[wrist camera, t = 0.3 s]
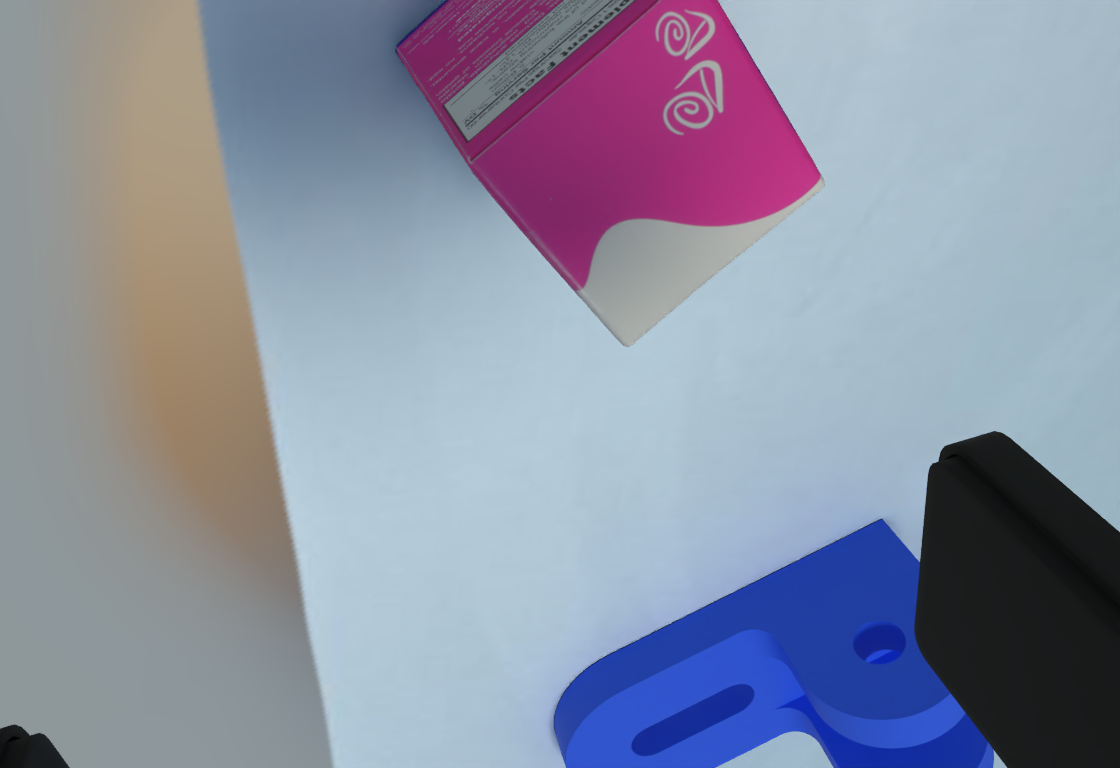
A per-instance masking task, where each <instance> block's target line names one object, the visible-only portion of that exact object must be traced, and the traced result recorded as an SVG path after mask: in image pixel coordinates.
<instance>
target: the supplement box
mask: <svg viewBox="0 0 1120 768" xmlns="http://www.w3.org/2000/svg"><path fill="white" fill-rule="evenodd" d="M395 52H396V53H397V55H398V57H399V58H400V60H401V62H402V63H403V64H404V66H405V67H406V68H407V70H408V72H409V73H410V75H411V77H412V78H413V80H414V82H415V83H416V85H417V86H418V87H419V89H420V90H421V92H422V93H423V95H424V96H425V98H426V100H427V101H428V103H429V104H430V106H431V107H432V109H433V111H434V112H435V114H436V116H437V117H438V119H439V120H440V122H441V123H442V125H443V127H444V128H445V130H446V132H447V133H448V135H449V136H450V138H451V140H452V141H453V143H454V144H455V146H456V147H457V149H458V150H459V152H460V154H461V155H462V157H463V158H464V160H465V161H466V163H467V164H468V166H469V167H470V169H471V170H472V172H473V174H474V175H475V176H476V177H477V178H478V180H479V181H480V182H481V183H482V185H483V186H484V187H485V188H486V190H487V191H488V192H489V193H490V195H491V196H492V197H493V198H494V199H495V201H496V202H497V203H498V204H499V205H500V206H501V208H502V209H503V210H504V211H505V212H506V213H507V215H508V216H509V217H510V218H511V219H512V220H513V222H514V223H515V224H516V225H517V226H518V227H519V229H520V230H521V231H522V232H523V233H524V234H525V236H526V237H527V238H528V239H529V240H530V241H531V243H532V244H533V245H534V246H535V247H536V248H537V249H538V251H539V252H540V253H541V254H542V255H543V256H544V257H545V259H546V260H547V261H548V262H549V263H550V264H551V265H552V267H553V268H554V269H555V270H556V271H557V272H558V273H559V274H560V276H561V277H562V278H563V279H564V280H565V281H566V282H567V283H568V285H569V286H570V287H571V288H572V289H573V290H574V291H575V292H576V294H577V295H578V296H579V297H580V298H581V299H582V300H583V301H584V303H585V304H586V305H587V306H588V307H589V308H590V309H591V311H592V312H593V313H594V314H595V315H596V316H597V317H598V318H599V319H600V321H601V322H602V323H603V324H604V325H605V326H606V328H607V329H608V330H609V331H610V332H611V333H612V334H613V335H614V336H615V338H616V339H617V340H618V341H619V342H620V343H621V344H622V345H623V346H626V347H629V346H631V345H632V344H634V343H635V342H636V341H637V340H638V339H639V338H641V337H642V336H643V335H644V334H645V333H647V332H648V331H649V330H650V329H651V328H652V327H654V326H655V325H656V324H657V323H658V322H659V321H661V320H662V319H663V318H664V317H665V316H667V315H668V314H669V313H670V312H671V311H672V310H674V309H675V308H676V307H677V306H678V305H680V304H681V303H682V302H683V301H684V300H685V299H687V298H688V297H689V296H690V295H691V294H693V293H694V292H695V291H696V290H697V289H699V288H700V287H701V286H702V285H703V284H705V283H706V282H707V281H708V280H709V279H711V278H712V277H713V276H714V275H716V274H717V273H718V272H719V271H720V270H722V269H723V268H724V267H725V266H727V265H728V264H729V263H730V262H731V261H733V260H734V259H735V258H737V257H738V256H739V255H740V254H742V253H743V252H744V251H745V250H747V249H748V248H749V247H750V246H752V245H753V244H754V243H755V242H757V241H758V240H759V239H760V238H762V237H763V236H764V235H765V234H767V233H768V232H769V231H770V230H772V229H773V228H774V227H775V226H777V225H778V224H779V223H780V222H782V221H783V220H784V219H785V218H786V217H788V216H789V215H790V214H791V213H793V212H794V211H795V210H797V209H798V208H799V207H800V206H802V205H803V204H804V203H805V202H806V201H808V200H809V199H810V198H811V197H813V196H814V195H815V194H817V193H818V192H819V191H820V190H821V189H822V188H823V187H824V179H823V177H822V175H821V174H820V172H819V171H818V169H817V167H816V165H815V163H814V162H813V160H812V158H811V156H810V155H809V153H808V151H807V150H806V148H805V146H804V144H803V143H802V141H801V139H800V138H799V136H798V134H797V133H796V131H795V129H794V128H793V126H792V124H791V123H790V121H789V119H788V118H787V116H786V114H785V112H784V111H783V109H782V107H781V106H780V104H779V102H778V101H777V99H776V97H775V95H774V94H773V92H772V90H771V89H770V87H769V85H768V84H767V82H766V81H765V79H764V77H763V76H762V74H761V72H760V70H759V69H758V67H757V66H756V64H755V62H754V61H753V59H752V57H751V55H750V54H749V52H748V50H747V49H746V47H745V45H744V44H743V42H742V40H741V39H740V37H739V35H738V34H737V32H736V30H735V29H734V27H733V25H732V24H731V22H730V20H729V19H728V17H727V15H726V14H725V12H724V10H723V9H722V7H721V5H720V4H719V2H718V0H446V1H445V2H443V3H442V4H441V5H440V6H439V7H438V8H437V9H436V10H434V11H433V12H432V13H431V14H430V15H429V16H428V17H427V18H425V19H424V20H423V21H422V22H421V23H420V24H419V25H418V26H417V27H415V28H414V29H413V30H412V31H411V32H410V33H409V34H408V35H407V36H406V37H405V38H404V39H402V40H401V41H400V42H399V43H398V44H397V46H396V48H395Z"/></svg>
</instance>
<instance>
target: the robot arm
mask: <svg viewBox="0 0 1120 768" xmlns="http://www.w3.org/2000/svg"><path fill="white" fill-rule="evenodd" d="M914 633H915V638H916V642H917V644H918V647H919V650H920V652H921V654H922V656H923V657H924V659H925V660H926V662H927V663H928V664H929V666H930V667H931V668H932V670H933V671H934V672H935V674H936V675H937V676H938V678H939V679H940V680H941V681H942V683H943V684H944V685H945V687H946V688H947V689H948V691H949V692H950V693H951V694H952V696H953V697H954V698H955V700H956V701H957V702H958V704H959V705H960V706H961V708H962V709H963V710H964V711H965V713H966V714H967V715H968V717H969V718H970V719H971V721H972V722H973V723H974V725H975V726H976V727H977V728H978V730H979V731H980V732H981V734H982V735H983V736H984V738H985V739H986V740H987V742H988V743H989V744H990V745H991V747H992V748H993V749H994V751H995V752H996V753H997V755H998V756H999V757H1000V759H1001V760H1002V761H1003V762H1004V764H1005V765H1006V766H1007V768H1120V532H1119V531H1118V530H1116V529H1115V528H1114V527H1113V526H1112V525H1111V524H1109V523H1108V522H1107V521H1106V520H1105V519H1104V518H1102V517H1101V516H1100V515H1099V514H1098V513H1097V512H1095V511H1094V510H1093V509H1092V508H1091V507H1090V506H1089V505H1087V504H1086V503H1085V502H1084V501H1083V500H1082V499H1080V498H1079V497H1078V496H1077V495H1076V494H1075V493H1073V492H1072V491H1071V490H1070V489H1069V488H1068V487H1066V486H1065V485H1064V484H1063V483H1062V482H1061V481H1059V480H1058V479H1057V478H1056V477H1055V476H1054V475H1052V474H1051V473H1050V472H1049V471H1048V470H1047V469H1045V468H1044V467H1043V466H1042V465H1041V464H1040V463H1039V462H1037V461H1036V460H1035V459H1034V458H1033V457H1032V456H1030V455H1029V454H1028V453H1027V452H1026V451H1025V450H1023V449H1022V448H1021V447H1020V446H1019V445H1018V444H1016V443H1015V442H1014V441H1013V440H1012V439H1011V438H1009V437H1008V436H1006V435H1005V434H1003V433H1001V432H996V431H993V432H990V433H987V434H983V435H980V436H977V437H973V438H970V439H967V440H963V441H960V442H957V443H953V444H950V445H947V446H945V447H944V448H943V449H942V451H941V453H940V457H939V462H937V463H933V464H932V465H931V467H930V469H929V473H928V482H927V493H926V504H925V515H924V526H923V537H922V548H921V558H920V569H919V580H918V591H917V602H916V613H915V624H914ZM0 768H69V767H68V765H67V764H66V762H65V761H64V759H63V758H62V757H61V755H60V754H59V752H58V751H57V750H56V748H55V747H54V745H53V744H52V743H51V741H50V740H49V739H48V738H47V737H46V736H45V735H44V734H41V733H38V734H34V735H31V736H30V735H29V734H28V733H27V732H26V731H25V730H24V729H23V728H22V727H20V726H17V725H11V726H7V727H4V728H1V729H0Z"/></svg>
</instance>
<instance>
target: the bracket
mask: <svg viewBox="0 0 1120 768" xmlns="http://www.w3.org/2000/svg"><path fill="white" fill-rule="evenodd" d="M919 569H920V562H919V561H918V560H917V559H916V558H915V557H914V555H913V554H912V553H911V552H910V551H909V550H908V548H907V547H906V546H905V545H904V544H903V543H902V541H901V540H900V539H899V538H898V537H897V536H896V534H895V533H894V532H893V531H892V530H891V529H890V527H889V526H888V525H887V524H886V523H885V522H884V520H883V519H881V520H879V521H877V522H875V523H873V524H871V525H869V526H867V527H865V528H863V529H861V530H859V531H857V532H855V533H853V534H851V535H849V536H847V537H845V538H843V539H841V540H839V541H837V542H835V543H833V544H831V545H829V546H827V547H825V548H823V549H821V550H819V551H817V552H815V553H813V554H811V555H809V556H807V557H805V558H803V559H801V560H799V561H797V562H795V563H793V564H791V565H789V566H787V567H785V568H783V569H781V570H779V571H777V572H775V573H773V574H771V575H769V576H767V577H765V578H763V579H761V580H759V581H757V582H755V583H753V584H751V585H749V586H747V587H745V588H743V589H741V590H739V591H737V592H735V593H733V594H731V595H729V596H727V597H725V598H723V599H721V600H719V601H717V602H715V603H713V604H711V605H709V606H707V607H705V608H703V609H701V610H699V611H697V612H695V613H692V614H690V615H688V616H686V617H684V618H682V619H680V620H678V621H676V622H674V623H672V624H670V625H668V626H666V627H664V628H662V629H660V630H658V631H656V632H654V633H652V634H650V635H648V636H646V637H644V638H642V639H640V640H638V641H636V642H634V643H632V644H630V645H628V646H626V647H624V648H622V649H620V650H618V651H616V652H614V653H612V654H610V655H608V656H607V657H605V658H603V659H601V660H599V661H598V662H596V663H595V664H593V665H592V666H590V667H589V668H588V669H586V670H585V671H584V672H583V673H582V674H581V675H579V676H578V677H577V678H576V679H575V680H574V681H573V682H572V684H571V685H570V686H569V687H568V689H567V690H566V691H565V693H564V694H563V696H562V698H561V700H560V702H559V704H558V706H557V709H556V713H555V718H554V728H555V733H556V737H557V740H558V743H559V746H560V750H561V753H562V756H563V759H564V763H565V766H566V768H715V767H717V766H719V765H721V764H723V763H725V762H727V761H729V760H731V759H733V758H735V757H737V756H739V755H741V754H743V753H745V752H747V751H749V750H751V749H753V748H755V747H757V746H759V745H761V744H763V743H765V742H767V741H769V740H771V739H773V738H775V737H777V736H779V735H781V734H784V733H787V732H792V731H799V732H804V733H807V734H809V735H811V736H812V737H814V738H815V739H816V740H817V741H818V742H819V743H820V745H821V747H822V748H823V750H824V752H825V753H826V755H827V757H828V759H829V760H830V762H831V764H832V765H833V767H834V768H993V762H994V751H993V748H992V747H991V745H990V744H989V743H988V742H987V740H986V739H985V738H984V736H983V735H982V734H981V732H980V731H979V730H978V728H977V727H976V726H975V725H974V723H973V722H972V721H971V719H970V718H969V717H968V715H967V714H966V713H965V711H964V710H963V709H962V708H961V706H960V705H959V704H958V702H957V701H956V700H955V698H954V697H953V696H952V694H951V693H950V692H949V691H948V689H947V688H946V687H945V685H944V684H943V683H942V681H941V680H940V679H939V678H938V676H937V675H936V674H935V672H934V671H933V670H932V668H931V667H930V666H929V664H928V663H927V662H926V660H925V659H924V657H923V656H922V654H921V652H920V650H919V647H918V644H917V642H916V638H915V633H914V624H915V613H916V602H917V591H918V580H919Z"/></svg>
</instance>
